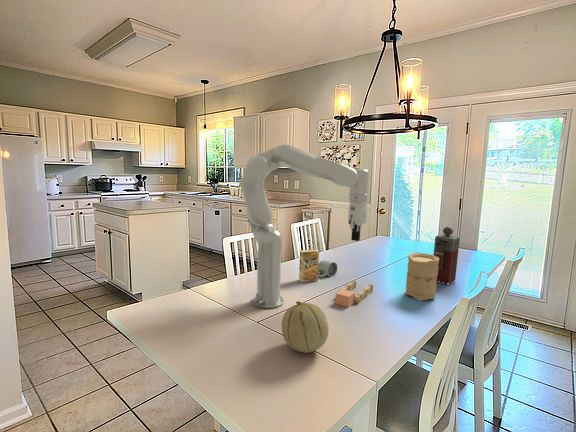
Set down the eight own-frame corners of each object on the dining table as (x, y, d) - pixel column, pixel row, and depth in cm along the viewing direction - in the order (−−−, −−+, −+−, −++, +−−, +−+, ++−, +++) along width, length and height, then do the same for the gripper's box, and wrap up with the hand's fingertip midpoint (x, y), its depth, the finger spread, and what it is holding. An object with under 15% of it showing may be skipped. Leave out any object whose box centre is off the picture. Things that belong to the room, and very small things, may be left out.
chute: (358, 304, 136) (358, 297, 136) (336, 298, 142) (336, 291, 141) (372, 291, 151) (373, 284, 151) (352, 286, 157) (353, 280, 156)
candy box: (301, 282, 160) (302, 252, 158) (298, 279, 164) (299, 250, 162) (318, 281, 163) (319, 251, 160) (315, 278, 167) (316, 249, 164)
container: (428, 303, 139) (432, 262, 136) (400, 295, 147) (403, 256, 144) (439, 295, 148) (443, 257, 145) (412, 288, 156) (415, 251, 153)
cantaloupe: (323, 366, 93) (325, 317, 91) (274, 357, 97) (275, 310, 95) (331, 340, 108) (333, 297, 105) (288, 333, 111) (289, 291, 109)
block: (348, 307, 133) (349, 296, 132) (335, 303, 136) (335, 293, 136) (354, 302, 138) (355, 292, 137) (341, 298, 141) (341, 289, 141)
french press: (429, 281, 166) (434, 227, 162) (437, 276, 174) (442, 224, 170) (447, 286, 160) (453, 229, 156) (455, 280, 168) (461, 227, 163)
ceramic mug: (325, 271, 178) (326, 257, 177) (337, 275, 172) (338, 260, 171) (312, 275, 171) (312, 261, 170) (324, 279, 165) (324, 265, 164)
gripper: (359, 200, 131) (356, 244, 134) (372, 197, 143) (369, 238, 146) (342, 198, 135) (340, 242, 138) (356, 196, 148) (354, 236, 150)
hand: (355, 240), depth 142 cm, fingers closed
